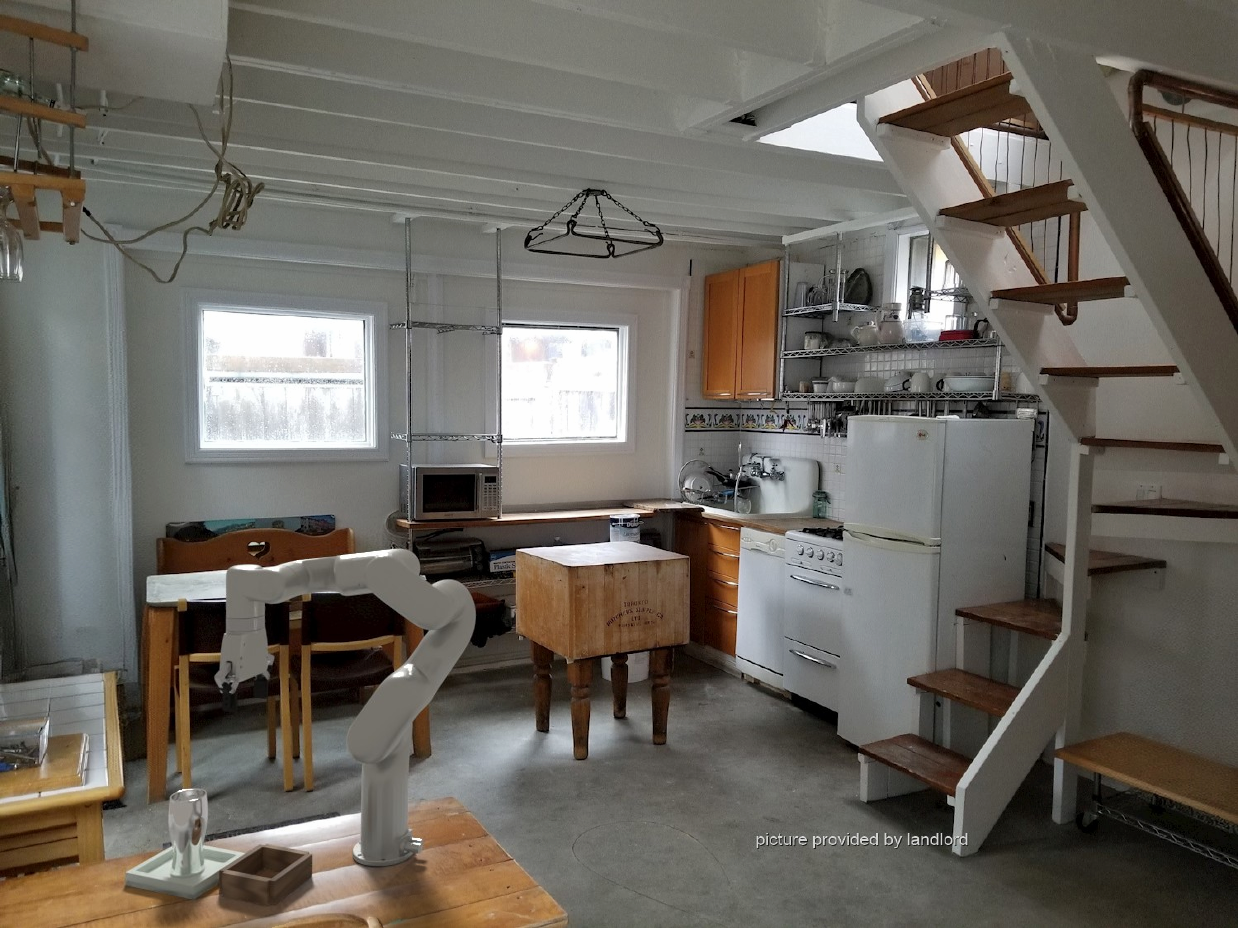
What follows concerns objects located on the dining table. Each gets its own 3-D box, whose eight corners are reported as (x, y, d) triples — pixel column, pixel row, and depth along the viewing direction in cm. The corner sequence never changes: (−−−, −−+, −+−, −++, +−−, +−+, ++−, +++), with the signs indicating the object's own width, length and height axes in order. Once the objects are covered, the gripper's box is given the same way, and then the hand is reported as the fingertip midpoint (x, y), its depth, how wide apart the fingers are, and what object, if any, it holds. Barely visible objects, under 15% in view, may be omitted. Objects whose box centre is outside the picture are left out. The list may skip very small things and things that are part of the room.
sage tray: (245, 865, 178) (245, 852, 178) (193, 899, 165) (193, 886, 165) (181, 852, 183) (181, 840, 183) (125, 884, 169) (125, 872, 169)
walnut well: (313, 875, 175) (314, 852, 175) (272, 906, 163) (272, 882, 163) (261, 864, 178) (261, 842, 178) (216, 894, 167) (217, 871, 166)
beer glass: (191, 880, 169) (191, 803, 169) (159, 876, 171) (160, 799, 170) (215, 863, 176) (215, 789, 176) (184, 859, 178) (185, 785, 177)
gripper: (257, 614, 195) (257, 691, 196) (201, 631, 179) (201, 715, 179) (286, 617, 193) (286, 694, 194) (232, 633, 177) (232, 718, 177)
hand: (245, 704), depth 187 cm, fingers open, 9 cm apart
